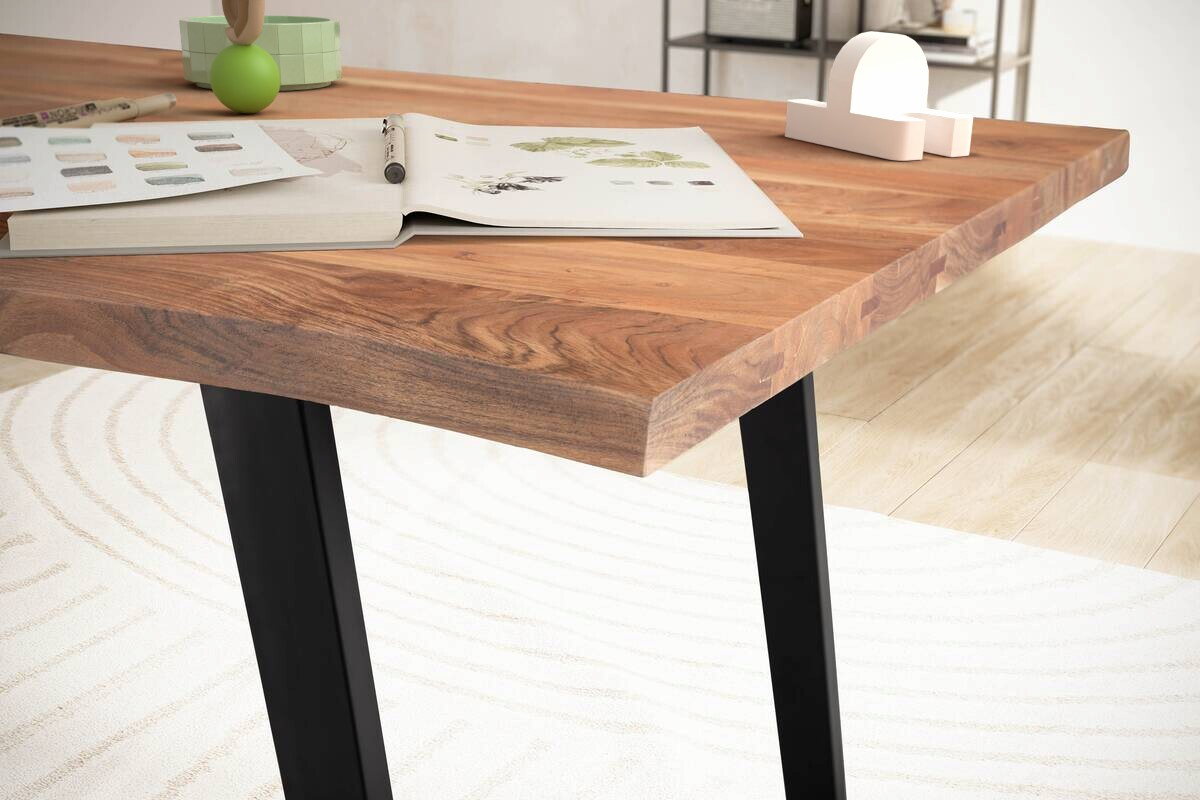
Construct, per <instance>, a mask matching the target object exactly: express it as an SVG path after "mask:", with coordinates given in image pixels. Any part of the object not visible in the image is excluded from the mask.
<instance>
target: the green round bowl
mask: <svg viewBox="0 0 1200 800" xmlns="http://www.w3.org/2000/svg"><path fill="white" fill-rule="evenodd" d="M178 23H179V32H180V33H179V34H180V35H179V36H180V44H181V45H180V47H181V56H182V66H183V67H182V68H183V79H184V80H185V81H188V82H192V83H195V85H196V86H197V87H199V88H203V89H210V90H212V87H211V84H210V68H211V65H212V62H213V60H214V58H215V57H216V56H217V54H218V53H219V52H220V51H221V50H223V49H224V48H226V47H228V46H230V45H233V43H232V42H231V41H230V40H229V39H228V37H227V35H226V32H225V28H226V27H230V25H229V24H228V22H227V20H226V18H225V16H224V14H223V15H222V14H221V15H199V16H186V17H180V18H179V20H178ZM340 25H341V24H340V20H339V19H338V18H333V17H325V16H311V15H288V14H287V15H286V14H285V15H281V14H278V15H277V14H264V21H263V27H262V31H261V34H260V36H259V37H258V38H257V39H256V40H255V41H254V42H253V43H252V44H253V45H256V46H258V47H260V48H262V49H264V50H265V51H266V52H268V53H269V54H270V55H271V56H272V58H273V59H274V61H275V62H276V64H277V66H278V69H279V72H280V79H281V82H280V89H279V92H287V91H304V90H314V89H320V88H325V87H329V86H331V85H332V82H336V81H339V80H340V79H342V78H343V70H342V67H343V66H342V49H341V48H342V46H341V28H340Z"/></svg>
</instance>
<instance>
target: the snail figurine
mask: <svg viewBox="0 0 1200 800" xmlns="http://www.w3.org/2000/svg"><path fill="white" fill-rule="evenodd" d="M221 8H222V12H223V15H224V16H225V18H226V20H227V22H228V24H229V25H230V27H226V28H225V32H226V35H227V37H228V39H229V40H230V41H231V42H232V43H233V45H230V46H228V47H226V48H224V49H223V50H221V51H220V52H219V53H218V54H217V56H216V57H215V58H214V60H213V62H212V65H211V68H210V84H211V87H212V89H211V90H212V92H213V94H214V96H215V97H216V99H217V100H218V101H219V102H220V103H221V104H222V105H223V106H224V107H226V108H227V109H229V110H231V111H233V112H235V113H240V114H256V113H259V112H261V111H263V110H266V109H267V108H268V107H270V105H271V104H273V103H274V101H275V100H276V98H277V96H278V95H279V92H280V91H279V89H280V82H281V79H280V72H279V69H278V66H277V64H276V62H275V61H274V59H273V58H272V56H271V55H270V54H269V53H268V52H266V51H265V50H264V49H262V48H260V47H258V46H256V45H253V44H252V43H253V42H254V41H255V40H256V39H257V38H258V37H259V36H260V34H261V31H262V27H263V21H264V15H265V12H266V0H221Z"/></svg>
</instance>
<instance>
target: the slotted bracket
mask: <svg viewBox="0 0 1200 800" xmlns="http://www.w3.org/2000/svg"><path fill="white" fill-rule="evenodd" d="M929 72H930V71H929V66H928V61H927V57H926V55H925V53H924V51H923V49H922V47H921V46H920V45H919V44H918V42H916V40H914V39H913V38H911V37H910V36H907V34H906V35H905V34H901V33H891V32H881V31H872V30H871V31H866V32H861V33H859V34H857V35H855V36H854V37H852V38H850V39H849V40H848V41H847V42H846V43H845V44H844V45H843V46H842V47H841V49H840V50H839V52H838V53H837V54H836V56H835V59H834V60H833V64H832V65H831V68H830V72H829V79H828V84H827V95H826V97H827V98H826V101H818V100H813V99H807V98H800V99H787V101H786V115H785V129H784V137H786V138H788V139H793V140H799V141H803V142H808V143H812V144H817V145H822V146H825V147H831V148H835V149H839V150H845V151H848V152H853V153H858V154H863V155H866V156H872V157H877V158H881V159H885V160H890V161H898V162H899V161H900V162H901V161H902V162H903V161H904V162H905V161H918V160H923V154H924V153H929V154H932V155H933V154H934V155H938V156H944V157H947V158H948V157H949V158H956V157H957V158H959V157H967V156H970V149H971V142H972V141H971V140H972V133H973V122H974V116H973V115H969V114H963V113H956V112H952V111H951V112H950V111H944V110H938V109H933V108H927V104H928V103H927V102H928V94H929V84H930V82H929V81H930V79H929V76H930V73H929Z"/></svg>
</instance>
